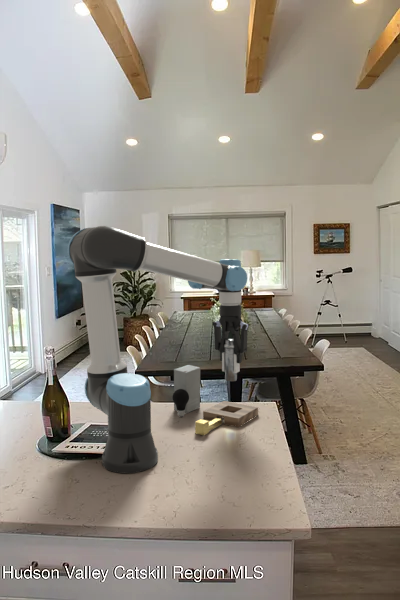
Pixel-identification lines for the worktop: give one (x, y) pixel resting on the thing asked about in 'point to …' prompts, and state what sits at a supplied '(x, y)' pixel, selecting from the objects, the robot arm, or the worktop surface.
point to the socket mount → (231, 413)
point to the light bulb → (180, 400)
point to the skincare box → (188, 385)
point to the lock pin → (206, 426)
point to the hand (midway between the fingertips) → (230, 371)
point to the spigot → (229, 360)
